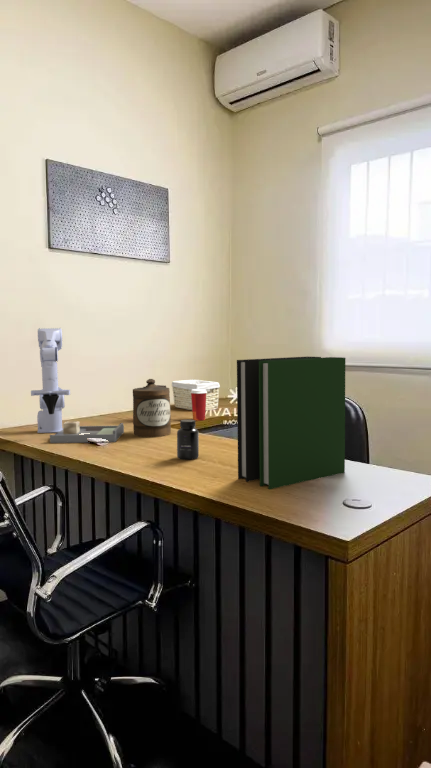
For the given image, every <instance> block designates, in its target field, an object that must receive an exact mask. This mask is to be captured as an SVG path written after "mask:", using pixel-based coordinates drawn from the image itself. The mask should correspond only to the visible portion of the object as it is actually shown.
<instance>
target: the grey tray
mask: <svg viewBox="0 0 431 768" xmlns="http://www.w3.org/2000/svg"><path fill="white" fill-rule="evenodd" d="M81 433H90V434H84V435H79V434H81ZM124 433H125V428H124V422H121V423H119V424H118V425H80V432H78V433H77V434H64V433H63V430H61V431H60V432H55V433H54V434H50V435H49V443H50V444H71V443H73V444H75V443H76V444H77V443H81V444H82V443H89V442H88V440H87V438H102V439H106V440H108V441H109V442H108V443H116V441H117V440H119V439H120V437H122V435H124Z"/></svg>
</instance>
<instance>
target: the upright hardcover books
mask: <svg viewBox="0 0 431 768" xmlns="http://www.w3.org/2000/svg"><path fill="white" fill-rule="evenodd" d="M236 400H237V401H236V402H237V403H236V405H237V407H236V408H237V409H236V411H237V413H236V414H237V418H236V419H237V479H238V480H240V479H245V482H246V483H247V482H252V481H253V482H254V481H256V480H257V481H258V480H259V487H264V486H268V490H273V489H277V488H281V487H282V488H283V487H285V486H290V485H294V484H295V485H296V484H299V483H304V482H309V481H314V480H317V479H318V480H319V479H321V478H326V477H331V476H336V475H340V474H345V472H346V471H345V470H346V468H345V467H346V466H345V465H346V464H345V463H346V461H345V459H346V458H345V457H346V357H335V356H334V357H333V356H329V357H328V356H326V357H322V356H292V357H291V356H290V357H275V358H273V357H270V358H252V359H251V358H249V359H248V358H247V359H236Z"/></svg>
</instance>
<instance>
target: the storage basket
mask: <svg viewBox="0 0 431 768" xmlns="http://www.w3.org/2000/svg"><path fill="white" fill-rule="evenodd" d="M171 387H172V388H171V389H172V392H173V394H172V395H173V403H174V407H175V408H177V409H182V410H188V411H192V399H191V393H190V392H191V390H193V389H206V392H207V393H206V411H213V410H218V408H219V397H220V396H219V395H220V394H219V393H220V388H221V385H220V382H217V381H209V380H201V379H186V380H184V379H183V380H173V381H171Z"/></svg>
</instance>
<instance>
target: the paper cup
mask: <svg viewBox="0 0 431 768" xmlns="http://www.w3.org/2000/svg"><path fill="white" fill-rule="evenodd" d="M190 393H191V399H192V410H191V412H192V420H195V422H198V421H199V422H200V421H201V422H202V421H205V420H206V411H207V410H206V393H207V392H206V389H193V390H191V392H190Z"/></svg>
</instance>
